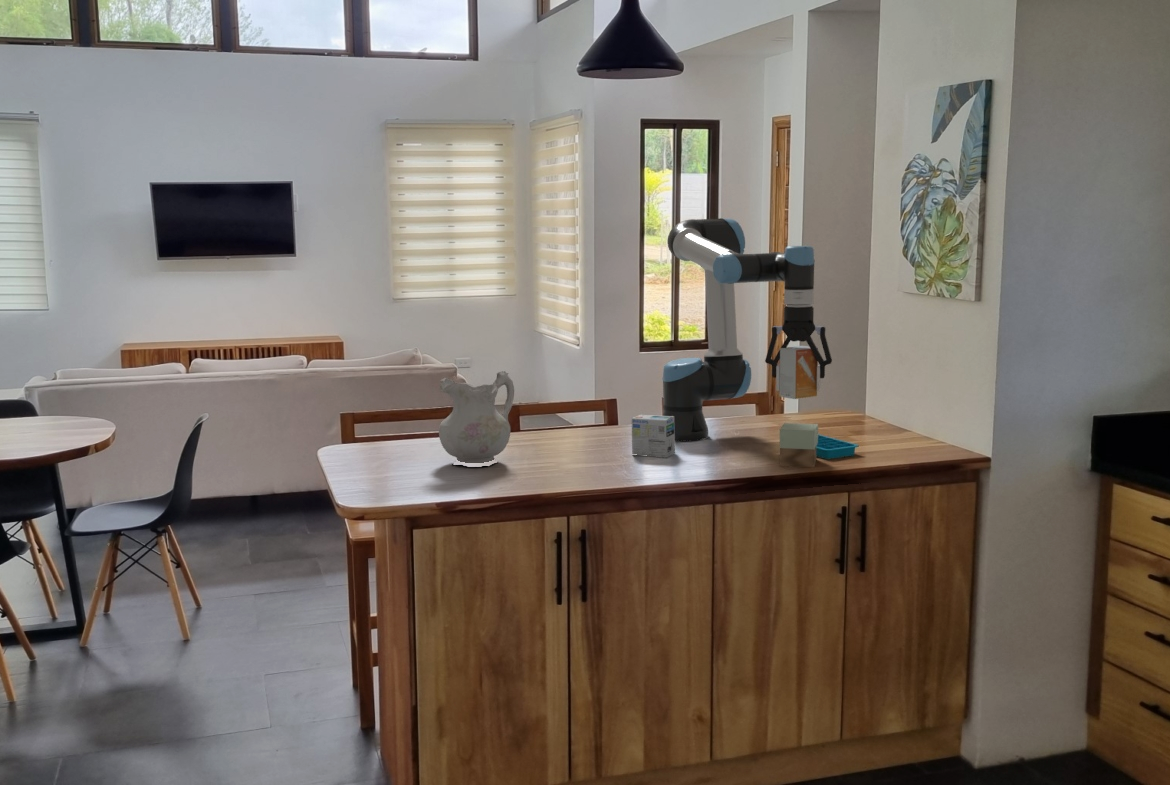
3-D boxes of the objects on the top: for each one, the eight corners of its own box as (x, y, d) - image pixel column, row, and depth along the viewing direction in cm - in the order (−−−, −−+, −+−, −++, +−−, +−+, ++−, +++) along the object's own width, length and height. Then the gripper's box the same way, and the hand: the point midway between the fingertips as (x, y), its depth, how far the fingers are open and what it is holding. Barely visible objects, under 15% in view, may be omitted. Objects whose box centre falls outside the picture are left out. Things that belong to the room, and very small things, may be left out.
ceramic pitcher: (489, 455, 311) (481, 369, 308) (534, 459, 297) (526, 369, 294) (428, 469, 296) (419, 379, 293) (472, 474, 282) (463, 379, 279)
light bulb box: (675, 453, 303) (675, 415, 301) (667, 458, 297) (666, 420, 295) (640, 450, 308) (639, 413, 306) (631, 455, 302) (630, 417, 300)
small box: (795, 399, 280) (795, 349, 278) (778, 396, 286) (778, 347, 284) (818, 396, 285) (818, 347, 283) (800, 393, 290) (801, 345, 288)
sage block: (779, 447, 285) (779, 429, 284) (784, 441, 293) (784, 422, 292) (814, 449, 282) (814, 430, 281) (817, 442, 290) (818, 424, 290)
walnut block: (779, 466, 285) (779, 448, 285) (782, 459, 294) (782, 441, 293) (814, 467, 283) (814, 449, 282) (816, 460, 292) (816, 442, 291)
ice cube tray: (826, 461, 291) (826, 450, 290) (781, 447, 309) (781, 437, 308) (860, 456, 296) (860, 445, 295) (814, 443, 314) (814, 433, 313)
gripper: (754, 306, 281) (753, 391, 284) (842, 306, 275) (841, 393, 279) (757, 304, 288) (757, 387, 292) (843, 304, 282) (842, 388, 286)
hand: (798, 390), depth 285 cm, fingers closed on small box, 10 cm apart
